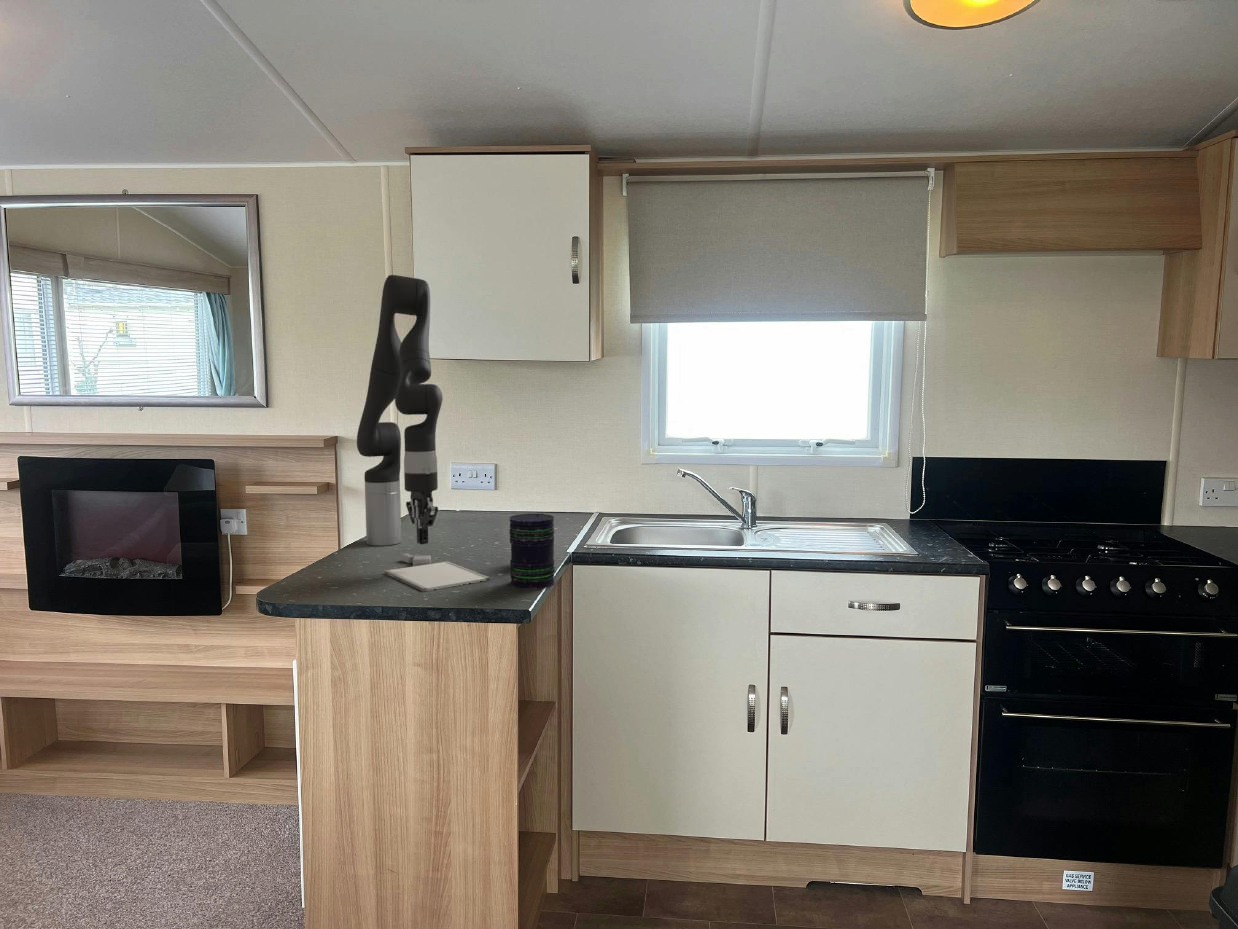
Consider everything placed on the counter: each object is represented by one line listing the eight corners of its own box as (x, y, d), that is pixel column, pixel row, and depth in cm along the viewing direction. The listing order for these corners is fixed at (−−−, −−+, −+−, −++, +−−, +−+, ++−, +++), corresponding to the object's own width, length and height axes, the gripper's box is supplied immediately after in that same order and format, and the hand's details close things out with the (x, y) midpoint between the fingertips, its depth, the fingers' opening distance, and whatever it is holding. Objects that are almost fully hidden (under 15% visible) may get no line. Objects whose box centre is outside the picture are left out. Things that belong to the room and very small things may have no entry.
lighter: (430, 566, 202) (431, 559, 210) (430, 559, 202) (431, 552, 210) (400, 567, 201) (402, 560, 208) (400, 560, 201) (401, 553, 208)
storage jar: (542, 591, 178) (541, 522, 177) (501, 587, 182) (500, 519, 180) (562, 580, 188) (561, 515, 186) (523, 577, 191) (522, 512, 190)
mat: (384, 573, 194) (384, 570, 194) (447, 564, 204) (447, 561, 204) (423, 591, 178) (423, 588, 178) (489, 580, 188) (489, 577, 188)
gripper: (393, 469, 197) (396, 541, 199) (417, 473, 186) (419, 550, 188) (423, 466, 201) (425, 537, 203) (448, 471, 191) (450, 546, 193)
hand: (422, 543), depth 196 cm, fingers closed
